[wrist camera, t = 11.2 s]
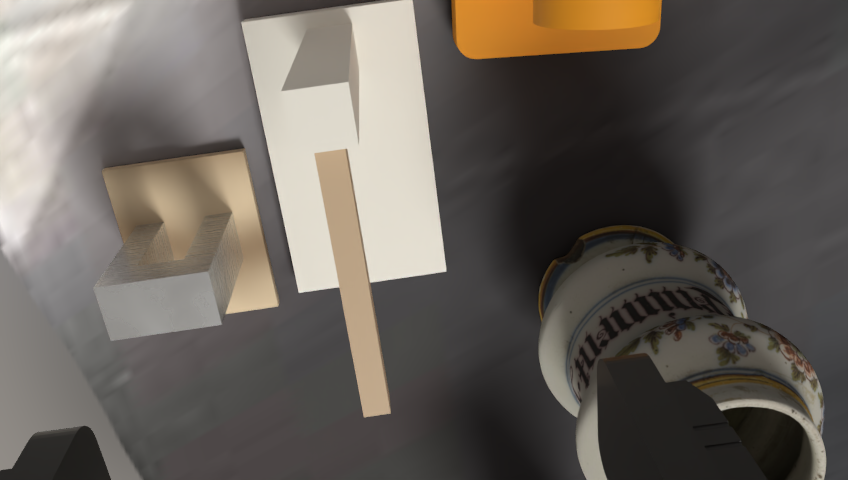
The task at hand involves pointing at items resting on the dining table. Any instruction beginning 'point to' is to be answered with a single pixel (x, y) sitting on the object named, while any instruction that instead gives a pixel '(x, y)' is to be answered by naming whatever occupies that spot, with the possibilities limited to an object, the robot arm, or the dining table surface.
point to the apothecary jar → (676, 345)
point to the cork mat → (198, 212)
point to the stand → (350, 158)
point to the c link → (170, 280)
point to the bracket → (552, 26)
